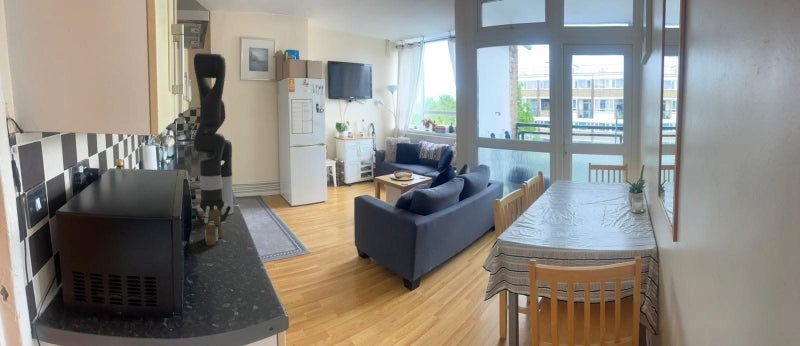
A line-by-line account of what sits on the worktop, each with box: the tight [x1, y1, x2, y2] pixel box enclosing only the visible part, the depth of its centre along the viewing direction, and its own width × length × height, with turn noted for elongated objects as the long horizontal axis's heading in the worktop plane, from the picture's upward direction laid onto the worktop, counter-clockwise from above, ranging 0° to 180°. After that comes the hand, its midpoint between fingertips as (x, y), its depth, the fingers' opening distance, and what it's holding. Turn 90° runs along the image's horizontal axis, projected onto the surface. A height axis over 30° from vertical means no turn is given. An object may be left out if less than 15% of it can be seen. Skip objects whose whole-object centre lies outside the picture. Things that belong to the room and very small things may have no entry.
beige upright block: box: [205, 221, 217, 246], centre depth 165 cm, size 6×3×8 cm, turn 17°
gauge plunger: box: [204, 225, 220, 242], centre depth 167 cm, size 5×4×6 cm
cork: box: [208, 209, 224, 239], centre depth 172 cm, size 6×6×11 cm
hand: (213, 231), depth 173 cm, fingers closed on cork, 3 cm apart
